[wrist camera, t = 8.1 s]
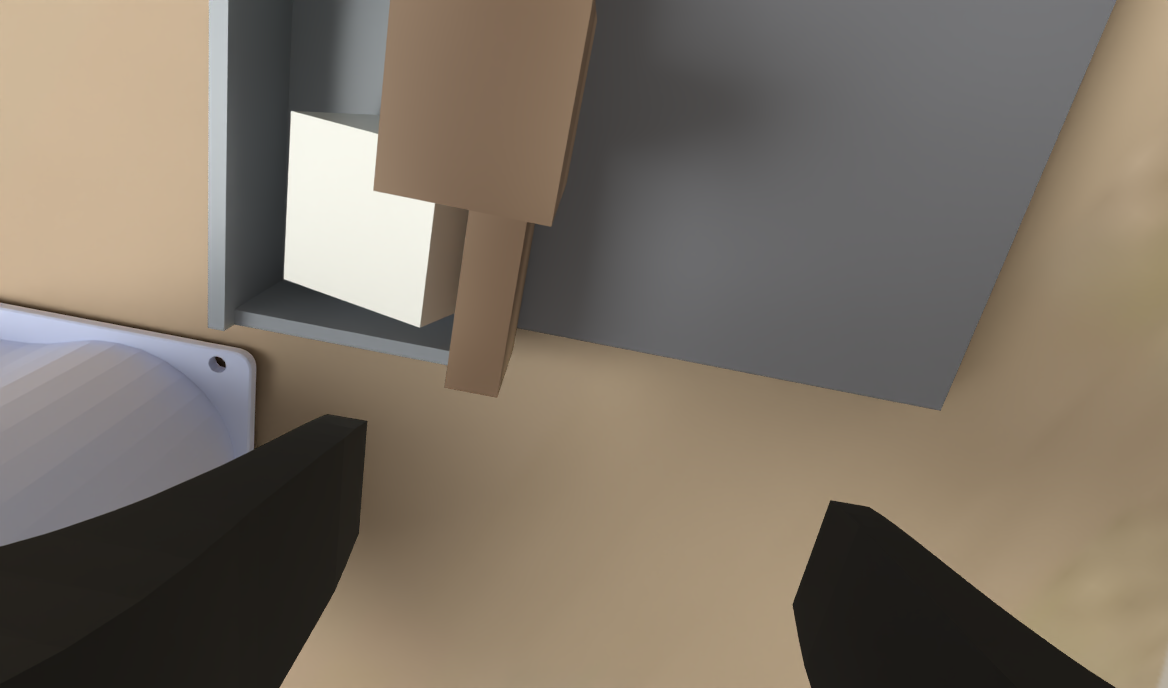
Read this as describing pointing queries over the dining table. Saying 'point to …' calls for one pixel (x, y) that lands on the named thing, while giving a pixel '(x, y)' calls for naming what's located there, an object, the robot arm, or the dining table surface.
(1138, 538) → the dining table surface
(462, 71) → the walnut mallet
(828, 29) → the charcoal board
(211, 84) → the tray
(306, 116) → the matte white cube
